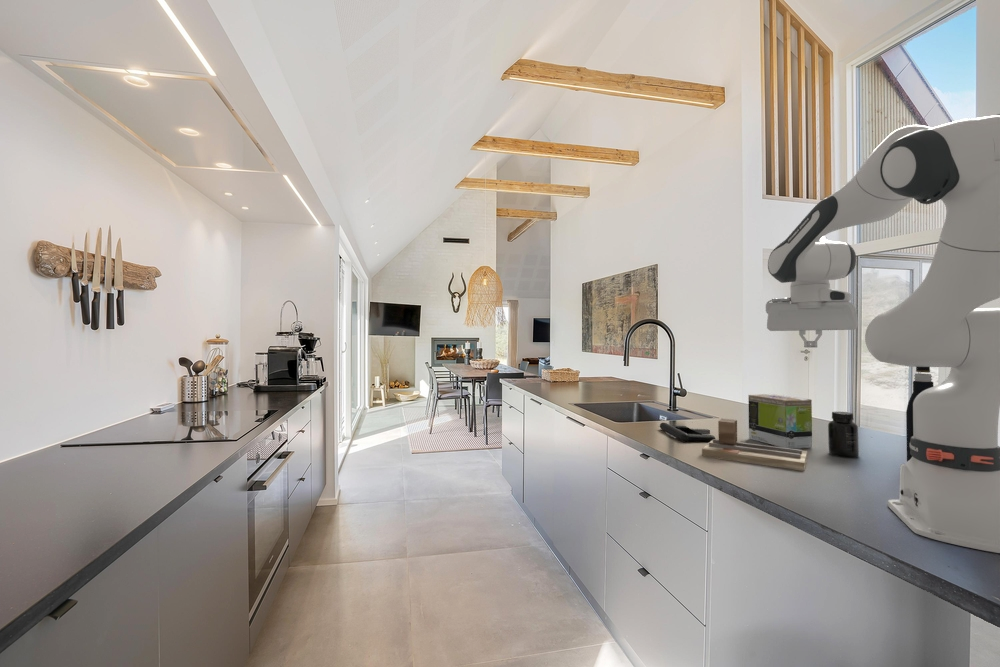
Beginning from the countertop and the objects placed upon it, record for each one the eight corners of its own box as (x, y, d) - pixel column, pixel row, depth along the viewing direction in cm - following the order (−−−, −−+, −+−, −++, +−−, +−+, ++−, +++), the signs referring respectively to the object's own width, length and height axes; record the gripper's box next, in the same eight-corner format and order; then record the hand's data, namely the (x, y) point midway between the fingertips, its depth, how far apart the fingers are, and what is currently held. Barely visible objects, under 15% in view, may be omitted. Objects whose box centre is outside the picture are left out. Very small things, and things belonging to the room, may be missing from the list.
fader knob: (734, 448, 125) (733, 422, 125) (718, 446, 128) (718, 421, 128) (737, 444, 129) (737, 419, 129) (722, 442, 132) (721, 418, 132)
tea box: (813, 447, 134) (813, 399, 134) (785, 450, 132) (785, 400, 132) (773, 436, 149) (772, 392, 149) (747, 438, 147) (747, 393, 147)
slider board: (804, 470, 112) (804, 458, 112) (702, 455, 126) (701, 445, 126) (807, 458, 123) (807, 447, 123) (712, 445, 137) (712, 436, 137)
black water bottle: (944, 475, 107) (942, 351, 107) (908, 471, 111) (907, 350, 111) (939, 469, 112) (938, 350, 112) (905, 464, 116) (904, 350, 116)
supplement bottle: (857, 453, 127) (856, 411, 127) (860, 459, 121) (860, 415, 121) (827, 450, 131) (826, 409, 131) (829, 456, 125) (828, 413, 125)
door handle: (700, 423, 162) (656, 421, 162) (729, 436, 142) (679, 433, 142) (699, 432, 162) (655, 430, 162) (728, 446, 142) (678, 444, 142)
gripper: (764, 298, 124) (765, 347, 124) (858, 293, 112) (859, 347, 112) (766, 299, 129) (767, 347, 129) (856, 295, 117) (857, 347, 117)
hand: (810, 347), depth 120 cm, fingers closed
